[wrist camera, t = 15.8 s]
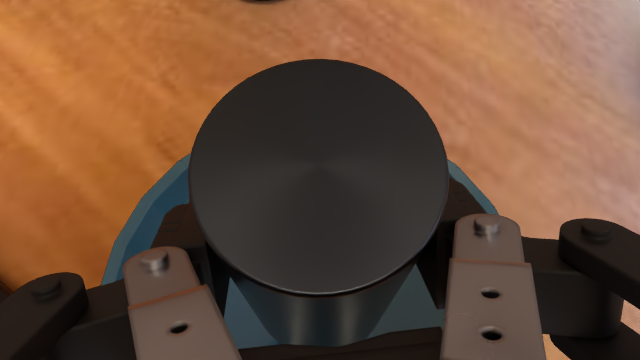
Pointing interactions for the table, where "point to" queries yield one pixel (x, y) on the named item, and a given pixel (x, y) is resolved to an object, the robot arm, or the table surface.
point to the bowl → (244, 326)
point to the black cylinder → (318, 195)
